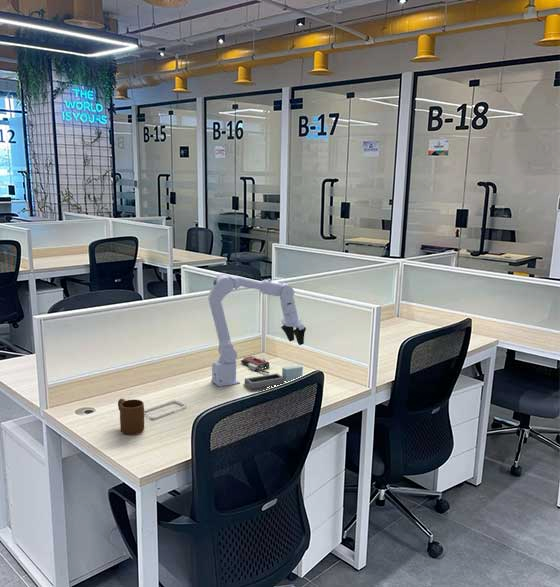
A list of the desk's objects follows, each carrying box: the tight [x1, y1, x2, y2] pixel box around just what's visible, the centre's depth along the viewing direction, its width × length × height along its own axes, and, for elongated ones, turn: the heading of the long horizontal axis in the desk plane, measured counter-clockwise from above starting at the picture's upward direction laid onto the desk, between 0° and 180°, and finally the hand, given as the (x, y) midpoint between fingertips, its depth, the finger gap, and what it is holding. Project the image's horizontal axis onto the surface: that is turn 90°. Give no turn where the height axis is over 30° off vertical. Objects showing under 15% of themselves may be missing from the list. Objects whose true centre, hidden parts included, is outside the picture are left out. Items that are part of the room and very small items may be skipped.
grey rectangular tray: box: [243, 373, 285, 392], centre depth 226 cm, size 15×8×3 cm, turn 120°
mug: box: [117, 398, 145, 436], centre depth 183 cm, size 12×8×9 cm, turn 45°
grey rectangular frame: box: [144, 399, 188, 420], centre depth 198 cm, size 7×1×15 cm
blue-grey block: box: [281, 364, 304, 384], centre depth 232 cm, size 8×3×6 cm, turn 120°
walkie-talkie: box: [240, 355, 270, 375], centre depth 246 cm, size 9×4×20 cm
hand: (296, 342), depth 233 cm, fingers open, 7 cm apart
